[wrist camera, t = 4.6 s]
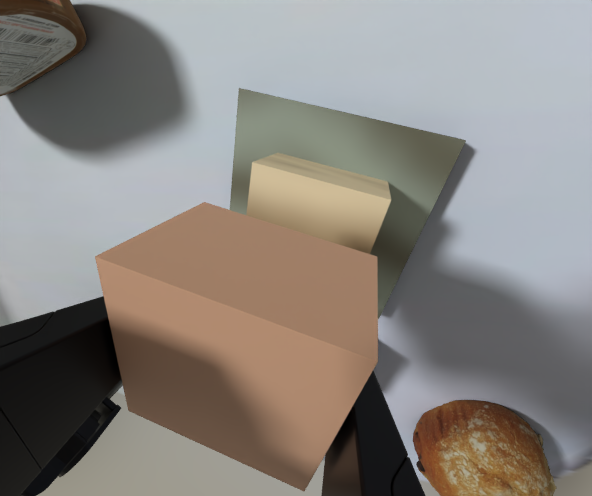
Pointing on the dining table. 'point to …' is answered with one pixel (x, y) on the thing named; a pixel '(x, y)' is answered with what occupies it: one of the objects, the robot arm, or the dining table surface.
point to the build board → (351, 152)
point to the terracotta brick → (243, 335)
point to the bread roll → (481, 451)
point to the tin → (36, 39)
